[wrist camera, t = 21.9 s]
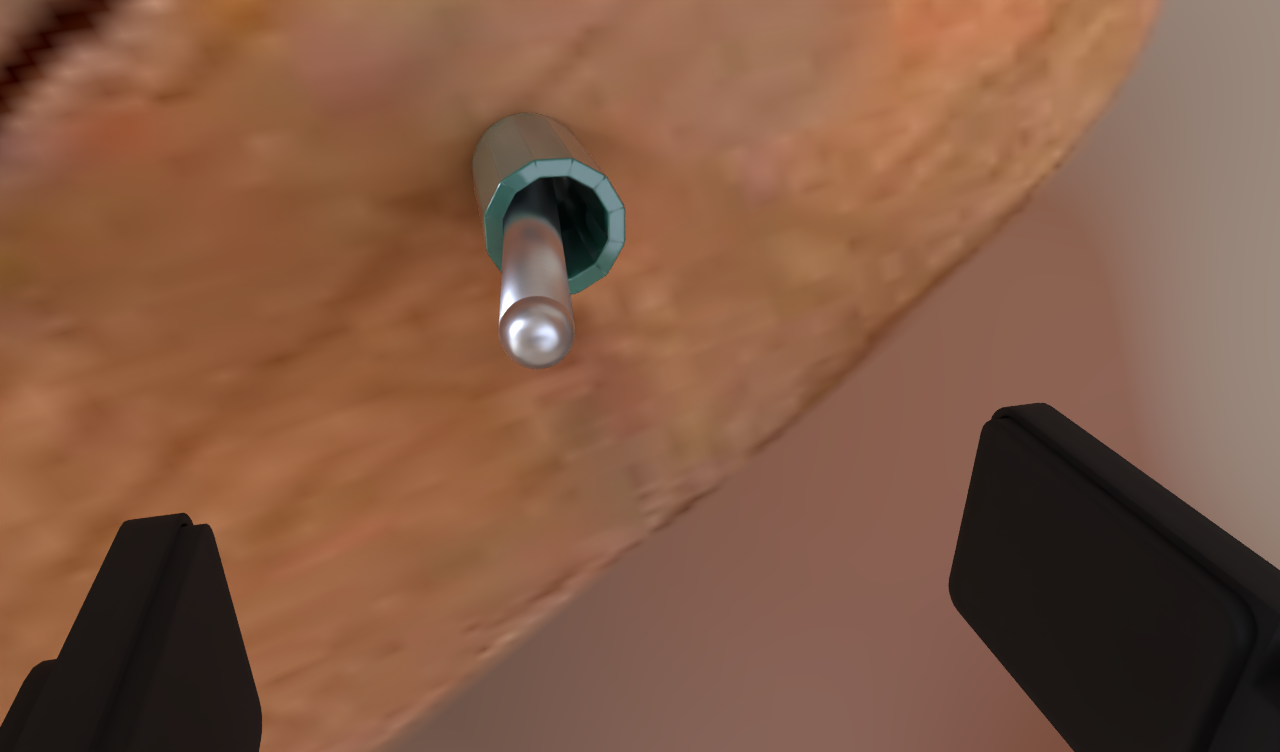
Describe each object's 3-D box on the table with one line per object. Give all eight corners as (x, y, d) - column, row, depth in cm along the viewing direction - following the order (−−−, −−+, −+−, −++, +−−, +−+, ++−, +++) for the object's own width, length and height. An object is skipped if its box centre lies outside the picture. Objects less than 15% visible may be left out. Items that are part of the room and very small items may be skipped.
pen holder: (476, 227, 29) (490, 301, 23) (467, 114, 28) (479, 162, 22) (585, 220, 30) (625, 290, 24) (582, 110, 29) (625, 155, 22)
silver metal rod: (508, 196, 29) (500, 384, 16) (505, 151, 28) (494, 312, 16) (552, 194, 29) (578, 380, 17) (551, 150, 28) (576, 308, 16)
